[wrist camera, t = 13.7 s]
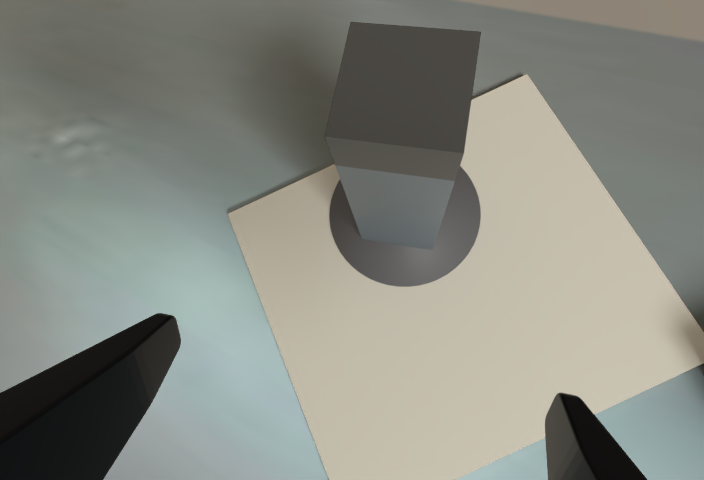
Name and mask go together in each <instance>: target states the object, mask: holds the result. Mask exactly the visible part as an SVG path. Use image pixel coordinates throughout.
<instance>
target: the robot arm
mask: <svg viewBox="0 0 704 480" xmlns="http://www.w3.org/2000/svg"><path fill="white" fill-rule="evenodd" d="M180 344H181V338H180V334H179V329H178V325H177V321H176V318H175V317H174V316H172V315H167V314H162V313H158V314H155V315H153V316H151V317H149V318H147V319H145V320H143V321H141V322H139V323H137V324H135V325H133V326H131V327H129V328H127V329H125V330H123V331H121V332H119V333H118V334H116V335H114V336H112V337H110V338H108V339H106V340H104V341H102V342H100V343H98V344H96V345H94V346H92V347H90V348H88V349H86V350H84V351H82V352H80V353H78V354H76V355H74V356H72V357H70V358H68V359H66V360H64V361H62V362H60V363H59V364H57V365H55V366H53V367H51V368H49V369H47V370H45V371H43V372H41V373H39V374H37V375H35V376H33V377H31V378H29V379H27V380H25V381H23V382H21V383H19V384H17V385H15V386H13V387H11V388H9V389H7V390H5V391H3V392H1V393H0V480H103V479H104V477H105V476H106V474H107V473H108V471H109V469H110V468H111V466H112V465H113V463H114V462H115V460H116V458H117V457H118V455H119V454H120V452H121V451H122V449H123V448H124V446H125V444H126V443H127V441H128V440H129V438H130V437H131V435H132V433H133V432H134V430H135V429H136V427H137V426H138V424H139V422H140V421H141V419H142V418H143V416H144V415H145V413H146V411H147V410H148V408H149V406H150V405H151V403H152V401H153V399H154V397H155V396H156V394H157V392H158V390H159V388H160V386H161V384H162V382H163V380H164V378H165V376H166V374H167V372H168V370H169V368H170V366H171V364H172V362H173V360H174V358H175V356H176V354H177V352H178V350H179V348H180ZM545 438H546V453H547V469H548V480H647V479H646V477H645V476H644V475H643V474H642V473H641V471H640V470H639V469H638V468H637V466H636V465H635V464H634V463H633V461H632V460H631V459H630V458H629V457H628V455H627V454H626V453H625V452H624V450H623V449H622V448H621V447H620V446H619V444H618V443H617V442H616V441H615V439H614V438H613V437H612V436H611V435H610V433H609V432H608V431H607V430H606V428H605V427H604V426H603V425H602V424H601V422H600V421H599V420H598V419H597V417H596V416H595V415H594V414H593V412H592V411H591V410H590V409H589V408H588V406H587V405H586V404H585V403H584V401H583V400H582V399H581V398H580V397H578V396H576V395H572V394H566V393H558V394H556V396H555V398H554V400H553V402H552V404H551V406H550V408H549V410H548V413H547V415H546V418H545Z"/></svg>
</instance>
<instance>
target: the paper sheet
mask: <svg viewBox="0 0 704 480" xmlns="http://www.w3.org/2000/svg"><path fill="white" fill-rule="evenodd" d="M228 216H229V219H230V221H231V224H232V227H233V229H234V232H235V234H236V237H237V240H238V242H239V245H240V248H241V250H242V253H243V255H244V258H245V261H246V263H247V266H248V269H249V271H250V274H251V276H252V279H253V282H254V284H255V287H256V289H257V292H258V295H259V297H260V300H261V303H262V305H263V308H264V310H265V313H266V316H267V318H268V321H269V324H270V326H271V329H272V331H273V334H274V337H275V339H276V342H277V344H278V347H279V350H280V352H281V355H282V358H283V360H284V363H285V365H286V368H287V371H288V373H289V376H290V379H291V381H292V384H293V386H294V389H295V392H296V394H297V397H298V399H299V402H300V405H301V407H302V410H303V413H304V415H305V418H306V420H307V423H308V426H309V428H310V431H311V434H312V436H313V439H314V441H315V444H316V447H317V449H318V452H319V454H320V457H321V460H322V462H323V465H324V468H325V470H326V473H327V475H328V478H329V480H456V479H458V478H460V477H462V476H464V475H466V474H468V473H470V472H473V471H475V470H477V469H479V468H481V467H483V466H485V465H488V464H490V463H492V462H494V461H496V460H498V459H500V458H502V457H505V456H507V455H509V454H511V453H513V452H515V451H517V450H520V449H522V448H524V447H526V446H528V445H530V444H532V443H535V442H537V441H539V440H541V439H543V438H545V418H546V415H547V413H548V410H549V408H550V406H551V404H552V402H553V400H554V398H555V396H556V394H558V393H566V394H572V395H576V396H578V397H580V398H581V399H582V400H583V401H584V403H585V404H586V405H587V406H588V408H589V409H590V410H591V411H592V412H593V414H596V413H599V412H601V411H603V410H605V409H607V408H609V407H611V406H613V405H616V404H618V403H620V402H622V401H624V400H626V399H628V398H631V397H633V396H635V395H637V394H639V393H641V392H643V391H645V390H648V389H650V388H652V387H654V386H656V385H658V384H660V383H663V382H665V381H667V380H669V379H671V378H673V377H675V376H677V375H680V374H682V373H684V372H686V371H688V370H690V369H692V368H695V367H697V366H699V365H701V364H703V363H704V332H703V331H702V329H701V328H700V326H699V325H698V323H697V322H696V320H695V319H694V317H693V316H692V314H691V313H690V312H689V310H688V309H687V307H686V306H685V304H684V303H683V301H682V300H681V298H680V297H679V295H678V294H677V293H676V291H675V290H674V288H673V287H672V285H671V284H670V282H669V281H668V279H667V278H666V276H665V275H664V274H663V272H662V271H661V269H660V268H659V266H658V265H657V263H656V262H655V260H654V259H653V257H652V256H651V255H650V253H649V252H648V250H647V249H646V247H645V246H644V244H643V243H642V241H641V240H640V239H639V237H638V236H637V234H636V233H635V231H634V230H633V228H632V227H631V225H630V224H629V222H628V221H627V220H626V218H625V217H624V215H623V214H622V212H621V211H620V209H619V208H618V206H617V205H616V203H615V202H614V201H613V199H612V198H611V196H610V195H609V193H608V192H607V190H606V189H605V187H604V186H603V184H602V183H601V182H600V180H599V179H598V177H597V176H596V174H595V173H594V171H593V170H592V168H591V167H590V166H589V164H588V163H587V161H586V160H585V158H584V157H583V155H582V154H581V152H580V151H579V149H578V148H577V147H576V145H575V144H574V142H573V141H572V139H571V138H570V136H569V135H568V133H567V132H566V130H565V129H564V128H563V126H562V125H561V123H560V122H559V120H558V119H557V117H556V116H555V114H554V113H553V111H552V110H551V109H550V107H549V106H548V104H547V103H546V101H545V100H544V98H543V97H542V95H541V94H540V93H539V91H538V90H537V88H536V87H535V85H534V84H533V82H532V81H531V79H530V78H529V76H528V75H527V74H526V75H524V76H522V77H520V78H518V79H516V80H513V81H511V82H509V83H507V84H505V85H503V86H501V87H498V88H496V89H494V90H492V91H490V92H488V93H486V94H483V95H481V96H479V97H477V98H475V99H473V100H471V106H470V113H469V121H468V128H467V135H466V142H465V149H464V155H463V158H462V161H461V164H460V167H459V170H458V173H457V176H456V179H455V182H454V185H453V189H452V192H451V195H450V198H449V201H448V204H447V207H446V210H445V213H444V216H443V219H442V222H441V225H440V229H439V232H438V235H437V238H436V241H435V244H434V247H433V250H428V249H422V248H415V247H409V246H403V245H396V244H390V243H384V242H377V241H371V240H365V239H362V238H361V235H360V232H359V230H358V227H357V224H356V221H355V219H354V216H353V213H352V210H351V208H350V205H349V202H348V199H347V197H346V194H345V191H344V188H343V186H342V183H341V180H340V177H339V174H338V172H337V169H336V166H335V164H333V165H331V166H329V167H327V168H325V169H323V170H321V171H318V172H316V173H314V174H312V175H310V176H308V177H306V178H303V179H301V180H299V181H297V182H295V183H293V184H291V185H288V186H286V187H284V188H282V189H280V190H278V191H276V192H273V193H271V194H269V195H267V196H265V197H263V198H261V199H258V200H256V201H254V202H252V203H250V204H248V205H246V206H243V207H241V208H239V209H237V210H235V211H233V212H231V213H229V214H228Z"/></svg>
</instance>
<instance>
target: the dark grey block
mask: <svg viewBox="0 0 704 480" xmlns="http://www.w3.org/2000/svg"><path fill="white" fill-rule="evenodd" d="M480 35H481V32H477V31H464V30H451V29H438V28H425V27H411V26H398V25H385V24H372V23H359V22H350V27H349V31H348V35H347V40H346V44H345V49H344V53H343V58H342V62H341V67H340V71H339V75H338V80H337V84H336V89H335V93H334V98H333V102H332V107H331V111H330V115H329V120H328V124H327V129H326V133H325V139H326V141H327V144H328V147H329V150H330V152H331V155H332V158H333V161H334V163H335V166H336V169H337V172H338V174H339V177H340V180H341V183H342V186H343V188H344V191H345V194H346V197H347V199H348V202H349V205H350V208H351V210H352V213H353V216H354V219H355V221H356V224H357V227H358V230H359V232H360V235H361V238H362V239H365V240H371V241H377V242H384V243H390V244H396V245H403V246H409V247H415V248H422V249H428V250H433V247H434V244H435V241H436V238H437V235H438V232H439V229H440V225H441V222H442V219H443V216H444V213H445V210H446V207H447V204H448V201H449V198H450V195H451V192H452V189H453V185H454V182H455V179H456V176H457V173H458V170H459V167H460V164H461V161H462V158H463V155H464V149H465V142H466V135H467V128H468V121H469V113H470V106H471V99H472V92H473V85H474V78H475V71H476V64H477V56H478V49H479V42H480Z"/></svg>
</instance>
